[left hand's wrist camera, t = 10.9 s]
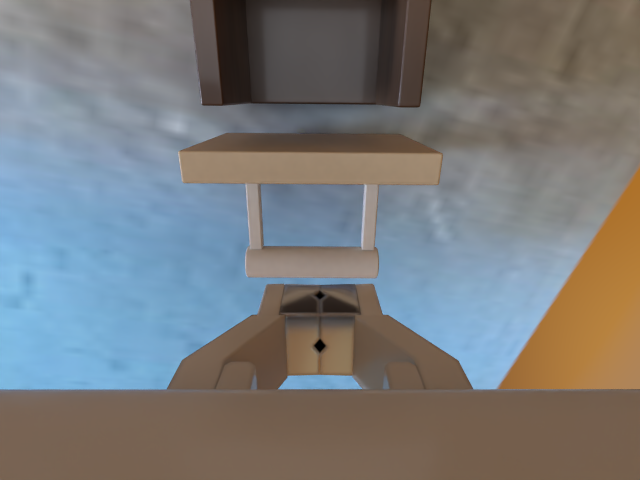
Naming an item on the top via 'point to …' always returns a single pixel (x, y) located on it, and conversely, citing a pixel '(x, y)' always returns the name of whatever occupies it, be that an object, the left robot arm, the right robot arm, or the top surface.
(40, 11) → the top surface
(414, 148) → the drawer
